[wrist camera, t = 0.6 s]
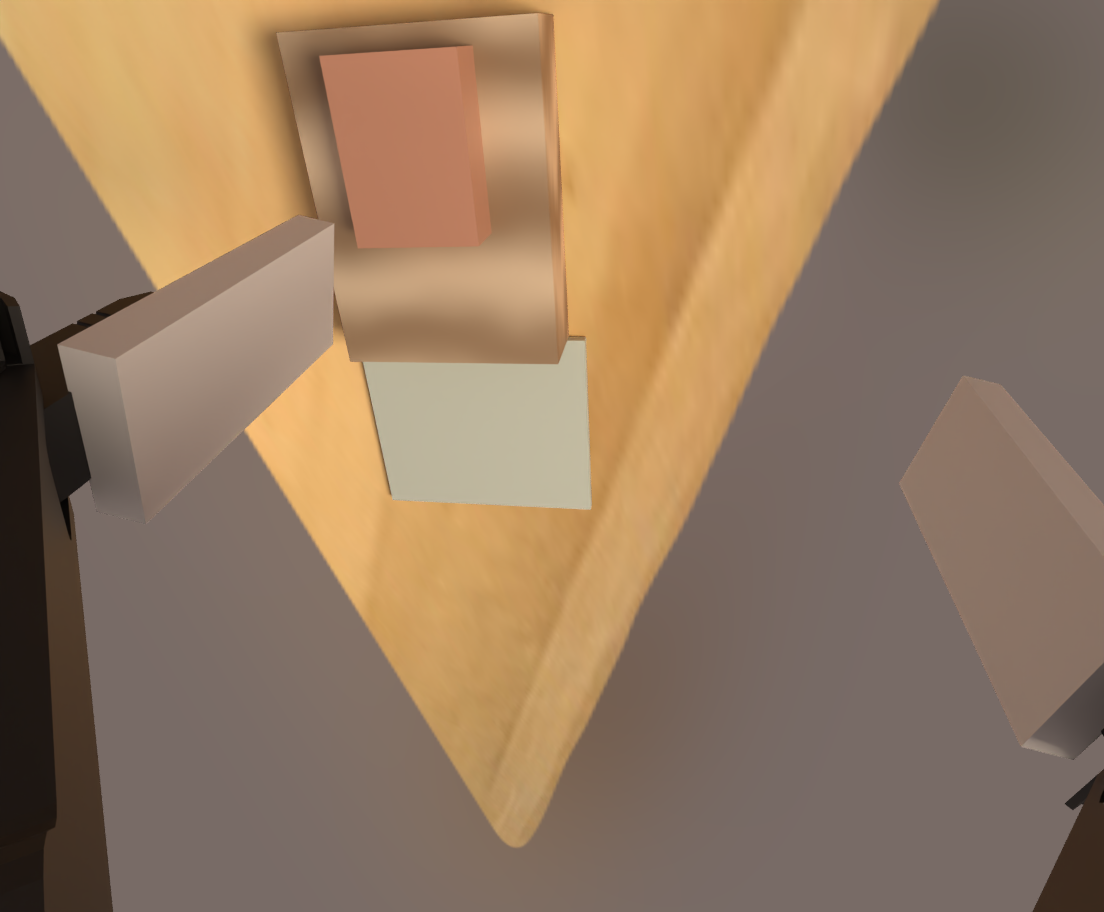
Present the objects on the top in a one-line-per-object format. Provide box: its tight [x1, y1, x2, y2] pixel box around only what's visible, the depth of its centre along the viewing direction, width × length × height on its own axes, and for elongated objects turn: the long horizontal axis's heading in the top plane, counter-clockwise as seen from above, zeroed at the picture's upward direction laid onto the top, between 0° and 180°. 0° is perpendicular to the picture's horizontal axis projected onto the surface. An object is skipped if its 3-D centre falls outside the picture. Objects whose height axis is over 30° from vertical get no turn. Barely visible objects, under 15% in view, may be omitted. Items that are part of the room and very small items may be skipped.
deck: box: [276, 13, 569, 364], centre depth 36 cm, size 16×12×4 cm
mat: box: [363, 337, 592, 510], centre depth 45 cm, size 12×14×1 cm
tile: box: [319, 45, 492, 248], centre depth 32 cm, size 8×6×2 cm
